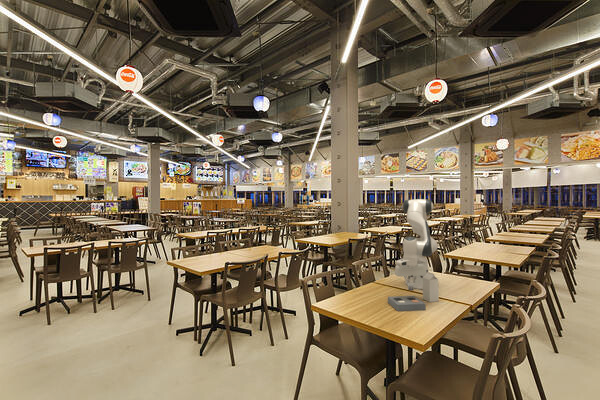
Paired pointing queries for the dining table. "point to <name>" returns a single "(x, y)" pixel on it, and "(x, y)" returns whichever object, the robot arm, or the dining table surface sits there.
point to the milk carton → (430, 288)
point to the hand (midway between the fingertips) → (410, 282)
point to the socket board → (406, 303)
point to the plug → (411, 283)
